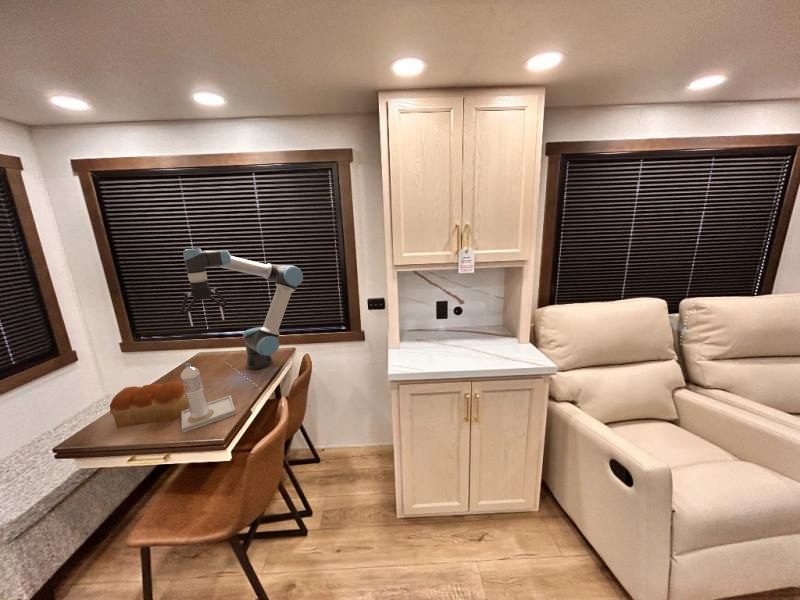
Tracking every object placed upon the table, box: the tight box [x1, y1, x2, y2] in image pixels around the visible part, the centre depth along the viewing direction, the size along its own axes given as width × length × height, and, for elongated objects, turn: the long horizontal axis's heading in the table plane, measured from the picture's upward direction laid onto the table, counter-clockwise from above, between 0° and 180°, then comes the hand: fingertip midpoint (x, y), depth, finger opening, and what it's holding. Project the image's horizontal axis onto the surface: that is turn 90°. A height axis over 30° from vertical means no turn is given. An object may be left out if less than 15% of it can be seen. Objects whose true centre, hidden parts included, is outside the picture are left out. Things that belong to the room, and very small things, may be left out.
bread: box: [109, 380, 189, 428], centre depth 139 cm, size 25×12×15 cm, turn 101°
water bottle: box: [180, 362, 209, 420], centre depth 132 cm, size 7×7×25 cm
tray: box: [180, 395, 237, 434], centre depth 138 cm, size 20×16×2 cm
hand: (208, 322), depth 153 cm, fingers open, 13 cm apart
